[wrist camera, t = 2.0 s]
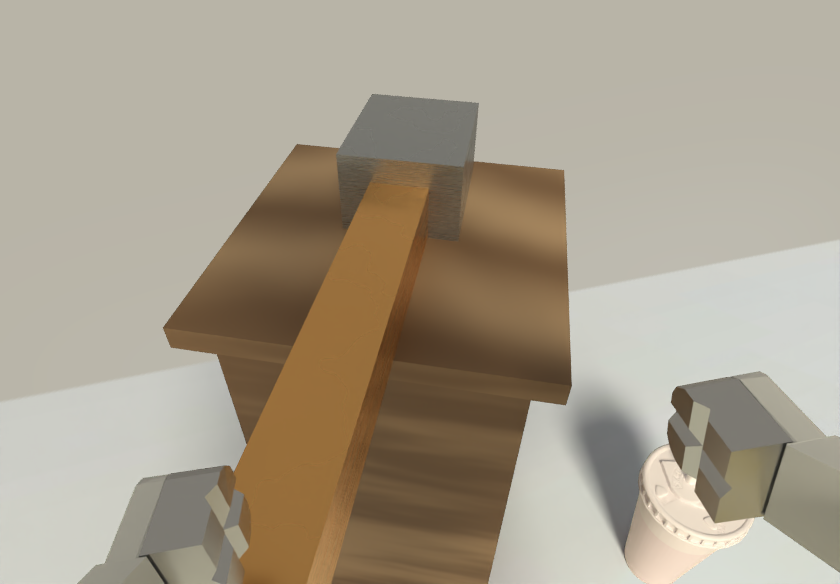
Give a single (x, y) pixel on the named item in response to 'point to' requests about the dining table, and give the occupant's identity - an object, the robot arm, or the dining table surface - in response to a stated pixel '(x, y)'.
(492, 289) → the stand
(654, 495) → the smoothie
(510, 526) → the dining table surface
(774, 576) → the dining table surface
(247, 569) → the mallet
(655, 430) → the dining table surface
